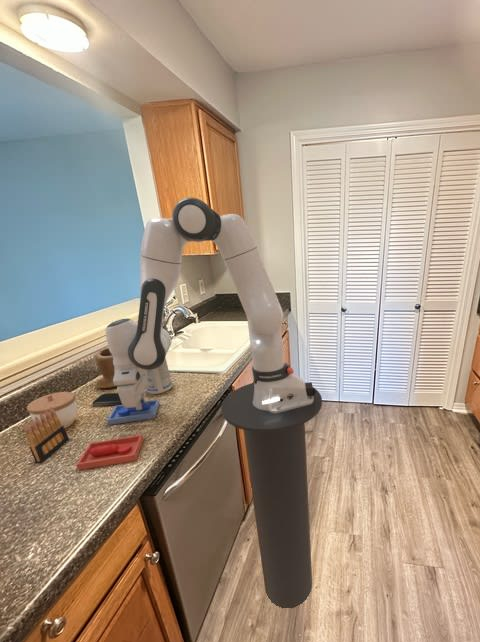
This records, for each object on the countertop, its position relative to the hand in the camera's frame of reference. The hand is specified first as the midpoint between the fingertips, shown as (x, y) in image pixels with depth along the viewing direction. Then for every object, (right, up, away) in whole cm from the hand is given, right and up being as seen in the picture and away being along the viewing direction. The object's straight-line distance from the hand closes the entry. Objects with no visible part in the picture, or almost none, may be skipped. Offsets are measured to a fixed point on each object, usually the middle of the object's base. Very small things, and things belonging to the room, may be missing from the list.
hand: (141, 406), depth 110 cm
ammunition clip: (-17, -11, -16) cm, 26 cm away
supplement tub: (-1, +5, +18) cm, 18 cm away
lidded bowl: (-25, -6, -4) cm, 26 cm away
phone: (-14, +1, +11) cm, 18 cm away
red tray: (+2, -11, -19) cm, 22 cm away
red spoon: (+2, -11, -19) cm, 22 cm away
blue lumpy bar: (-2, -2, 0) cm, 3 cm away
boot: (-23, +7, +26) cm, 35 cm away
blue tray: (-2, -3, +1) cm, 4 cm away
